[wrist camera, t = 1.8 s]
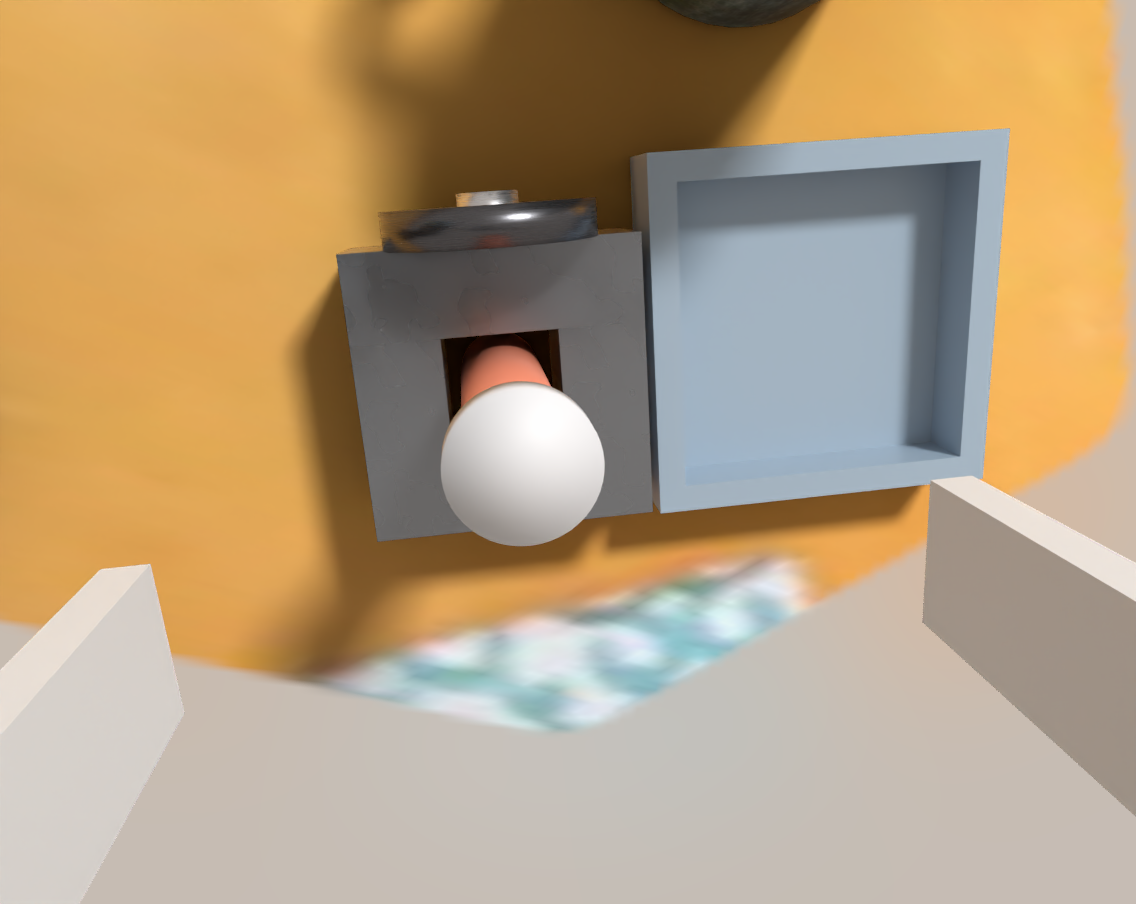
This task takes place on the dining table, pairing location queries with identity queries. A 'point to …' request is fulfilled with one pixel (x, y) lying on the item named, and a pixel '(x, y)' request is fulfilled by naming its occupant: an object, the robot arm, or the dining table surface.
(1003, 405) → the dining table surface
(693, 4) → the mug
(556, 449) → the pin
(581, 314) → the block
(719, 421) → the tray
